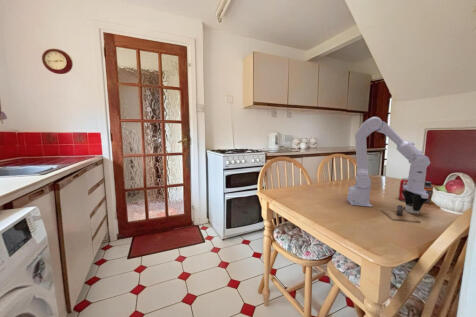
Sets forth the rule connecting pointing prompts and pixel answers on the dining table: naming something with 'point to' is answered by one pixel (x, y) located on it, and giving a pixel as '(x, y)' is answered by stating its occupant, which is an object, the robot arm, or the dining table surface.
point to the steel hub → (410, 209)
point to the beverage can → (402, 182)
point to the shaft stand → (400, 215)
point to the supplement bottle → (428, 190)
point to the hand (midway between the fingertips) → (412, 208)
